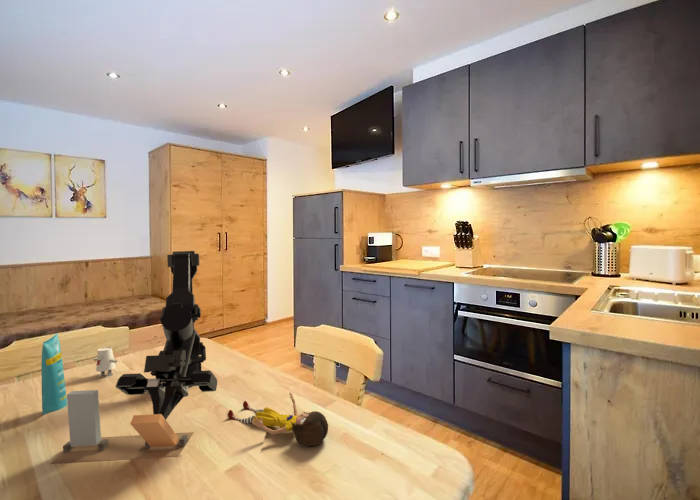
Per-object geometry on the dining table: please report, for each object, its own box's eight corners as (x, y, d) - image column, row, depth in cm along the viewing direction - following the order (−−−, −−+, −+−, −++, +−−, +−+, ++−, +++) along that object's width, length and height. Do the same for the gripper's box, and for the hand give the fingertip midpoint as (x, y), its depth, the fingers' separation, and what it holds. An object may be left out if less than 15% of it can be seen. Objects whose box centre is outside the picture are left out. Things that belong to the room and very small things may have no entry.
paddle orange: (153, 439, 71) (133, 415, 64) (178, 437, 71) (161, 413, 64) (150, 446, 70) (130, 423, 63) (176, 445, 70) (158, 422, 63)
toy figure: (82, 377, 108) (80, 350, 107) (99, 370, 113) (97, 344, 113) (112, 381, 105) (110, 353, 104) (128, 373, 110) (127, 347, 110)
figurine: (255, 387, 89) (337, 395, 77) (259, 416, 89) (342, 428, 77) (214, 411, 78) (303, 425, 66) (218, 444, 78) (308, 464, 66)
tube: (62, 415, 85) (57, 339, 84) (37, 420, 83) (31, 342, 82) (71, 402, 92) (66, 331, 91) (48, 406, 90) (42, 334, 89)
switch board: (80, 442, 74) (79, 432, 74) (194, 436, 76) (193, 426, 75) (50, 468, 66) (49, 456, 66) (178, 461, 68) (177, 449, 67)
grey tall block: (75, 442, 71) (72, 391, 70) (101, 440, 71) (97, 390, 70) (70, 446, 69) (66, 394, 69) (96, 445, 70) (92, 393, 69)
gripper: (117, 337, 70) (84, 419, 61) (210, 333, 72) (193, 414, 62) (140, 358, 79) (115, 433, 69) (223, 354, 80) (210, 428, 71)
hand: (157, 427), depth 68 cm, fingers closed, pressing on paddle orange
